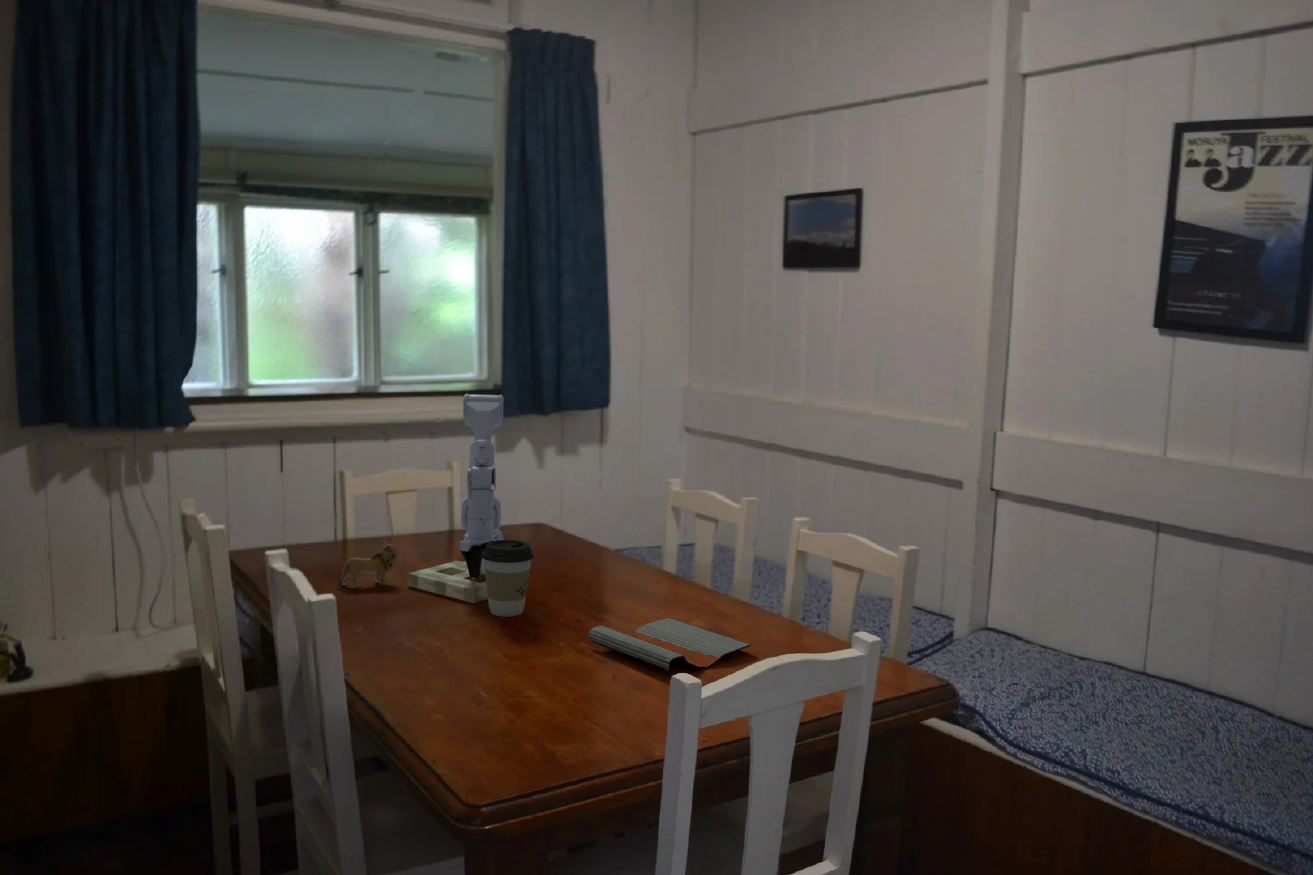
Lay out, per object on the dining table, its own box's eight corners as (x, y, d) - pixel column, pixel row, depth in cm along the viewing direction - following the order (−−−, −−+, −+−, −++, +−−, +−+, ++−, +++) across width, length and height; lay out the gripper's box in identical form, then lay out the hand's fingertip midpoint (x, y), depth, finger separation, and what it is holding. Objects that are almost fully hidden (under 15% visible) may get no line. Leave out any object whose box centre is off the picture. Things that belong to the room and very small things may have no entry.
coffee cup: (522, 622, 212) (524, 552, 210) (471, 616, 214) (473, 547, 213) (539, 606, 223) (541, 541, 221) (491, 601, 226) (492, 536, 224)
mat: (753, 656, 199) (754, 633, 198) (668, 684, 182) (669, 659, 182) (671, 626, 215) (672, 605, 214) (586, 649, 199) (587, 626, 198)
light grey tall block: (475, 580, 236) (474, 551, 236) (490, 582, 235) (489, 552, 234) (466, 584, 233) (465, 554, 232) (480, 586, 231) (480, 556, 230)
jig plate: (456, 572, 249) (456, 560, 248) (521, 588, 237) (521, 575, 237) (407, 585, 235) (408, 573, 235) (474, 603, 224) (474, 590, 224)
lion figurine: (392, 577, 242) (392, 541, 241) (401, 583, 238) (402, 545, 237) (332, 586, 233) (332, 548, 231) (341, 591, 228) (341, 553, 227)
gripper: (481, 510, 240) (480, 565, 242) (448, 521, 226) (447, 579, 228) (507, 513, 237) (506, 569, 239) (475, 524, 224) (474, 584, 226)
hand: (479, 574), depth 233 cm, fingers closed on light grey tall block, 4 cm apart
